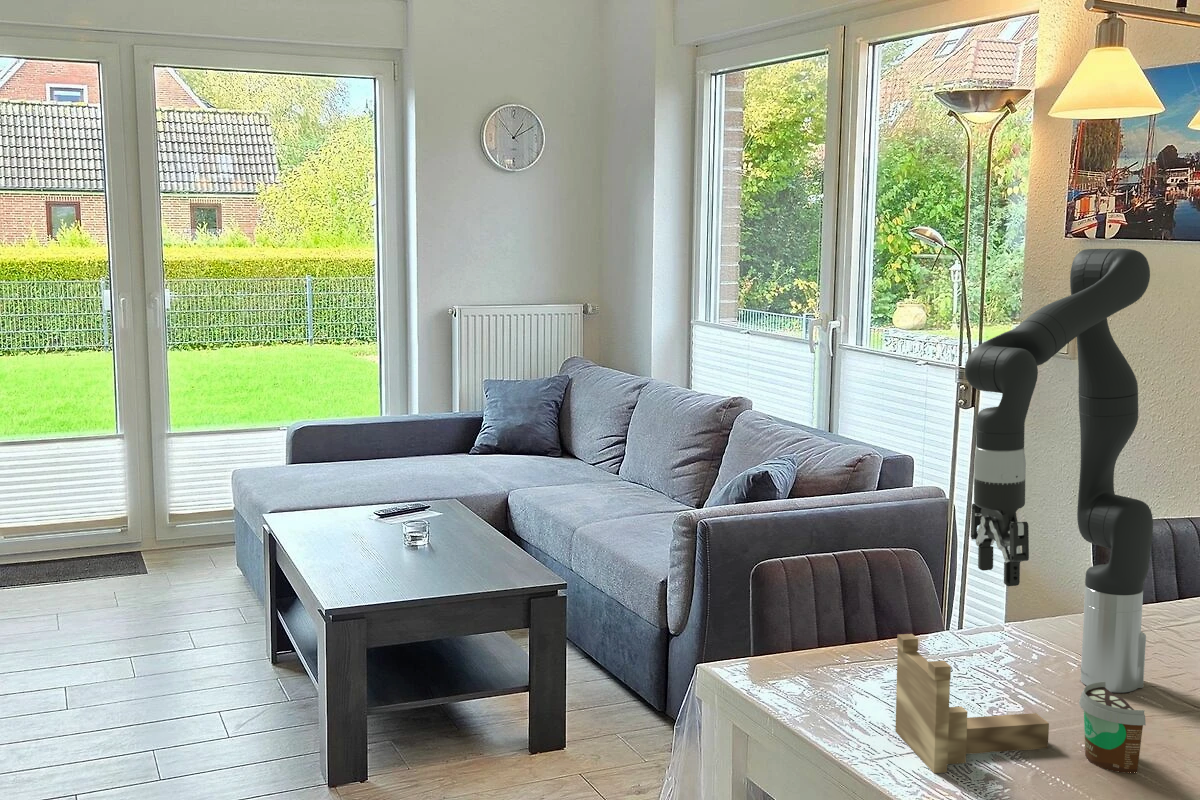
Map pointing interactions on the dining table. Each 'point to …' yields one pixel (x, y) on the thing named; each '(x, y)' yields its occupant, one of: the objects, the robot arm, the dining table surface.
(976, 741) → the rail
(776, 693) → the dining table surface
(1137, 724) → the food container
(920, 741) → the wooden post stand
